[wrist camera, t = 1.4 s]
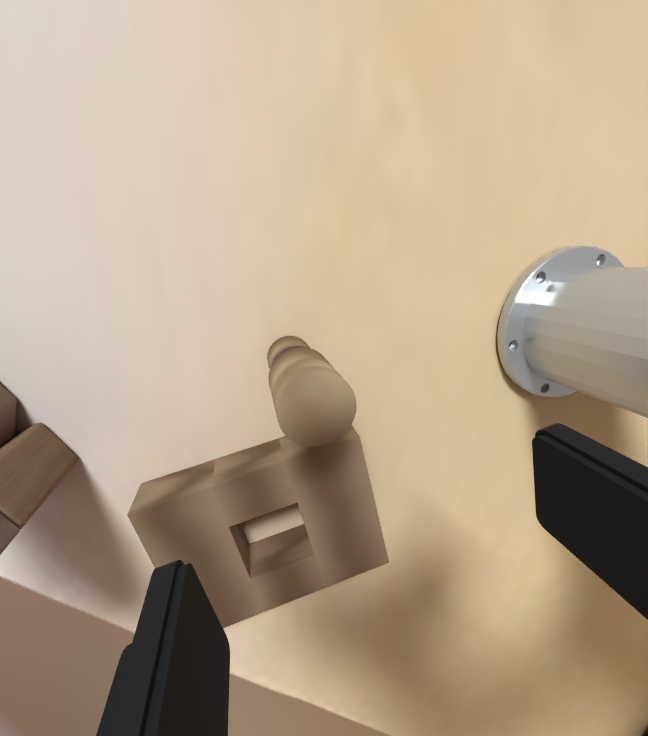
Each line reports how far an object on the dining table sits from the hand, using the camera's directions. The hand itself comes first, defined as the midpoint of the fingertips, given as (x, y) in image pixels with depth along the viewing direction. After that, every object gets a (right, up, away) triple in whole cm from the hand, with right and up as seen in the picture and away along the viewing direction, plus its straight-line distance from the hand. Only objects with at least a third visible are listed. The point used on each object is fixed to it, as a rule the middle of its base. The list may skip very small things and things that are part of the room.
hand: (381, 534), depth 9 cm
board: (-6, -7, +20) cm, 22 cm away
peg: (-4, +5, +17) cm, 18 cm away
